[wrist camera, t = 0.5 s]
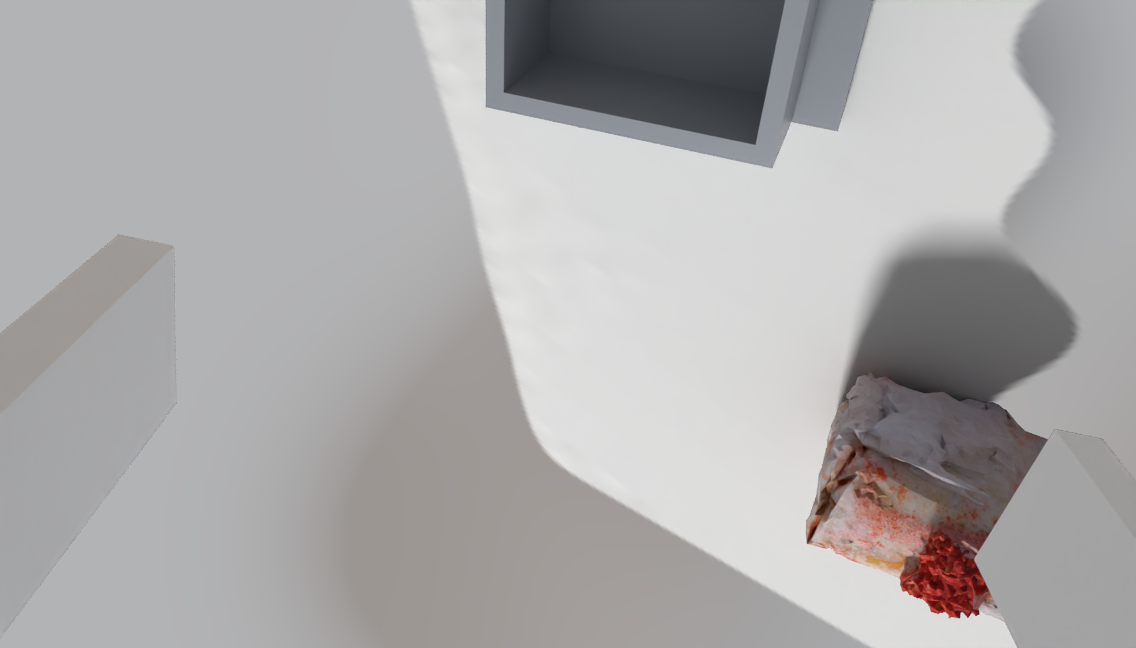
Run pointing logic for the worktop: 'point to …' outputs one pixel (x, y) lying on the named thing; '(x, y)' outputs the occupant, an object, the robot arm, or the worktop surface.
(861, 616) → the worktop surface
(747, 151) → the dish rack
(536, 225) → the worktop surface
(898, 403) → the food item
